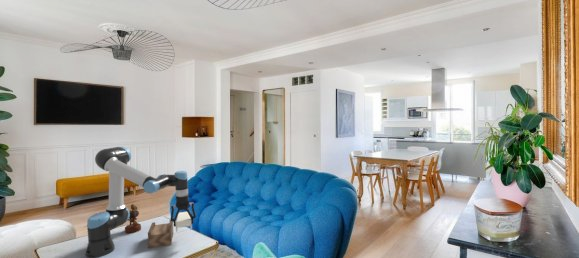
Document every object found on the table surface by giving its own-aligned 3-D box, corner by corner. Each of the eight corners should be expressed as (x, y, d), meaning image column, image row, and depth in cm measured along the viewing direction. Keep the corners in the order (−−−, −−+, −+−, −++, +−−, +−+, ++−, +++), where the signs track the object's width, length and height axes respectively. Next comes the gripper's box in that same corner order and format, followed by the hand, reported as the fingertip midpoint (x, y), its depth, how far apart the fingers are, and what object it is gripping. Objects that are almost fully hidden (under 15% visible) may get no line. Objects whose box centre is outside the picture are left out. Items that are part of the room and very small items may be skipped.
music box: (146, 228, 209) (143, 203, 206) (133, 235, 199) (129, 209, 196) (132, 225, 215) (129, 201, 212) (118, 232, 205) (115, 206, 202)
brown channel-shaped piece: (148, 248, 177) (147, 232, 177) (152, 236, 194) (152, 222, 194) (171, 244, 182) (170, 229, 181) (173, 233, 199) (172, 219, 198)
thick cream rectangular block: (176, 227, 175) (176, 221, 175) (178, 218, 192) (178, 212, 192) (190, 225, 178) (190, 219, 178) (190, 216, 195) (190, 211, 195)
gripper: (163, 199, 171) (165, 235, 172) (199, 194, 178) (201, 229, 179) (165, 195, 178) (167, 230, 179) (199, 191, 185) (200, 225, 186)
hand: (184, 229), depth 179 cm, fingers closed on thick cream rectangular block, 8 cm apart
